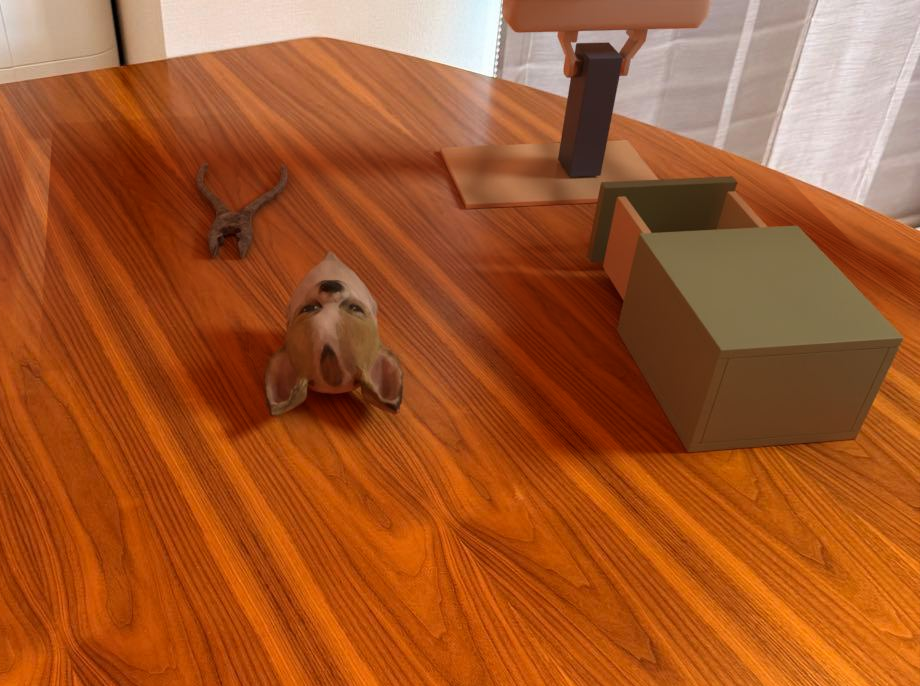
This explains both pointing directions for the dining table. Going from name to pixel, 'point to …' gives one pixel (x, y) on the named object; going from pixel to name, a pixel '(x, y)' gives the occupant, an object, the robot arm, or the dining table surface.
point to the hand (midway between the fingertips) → (594, 75)
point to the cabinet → (753, 338)
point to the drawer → (660, 216)
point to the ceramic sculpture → (332, 344)
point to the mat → (534, 174)
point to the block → (590, 110)
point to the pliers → (234, 214)
